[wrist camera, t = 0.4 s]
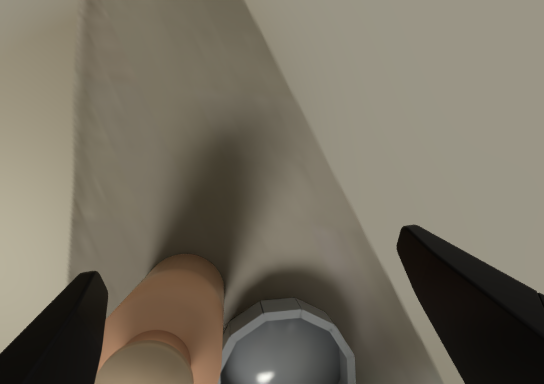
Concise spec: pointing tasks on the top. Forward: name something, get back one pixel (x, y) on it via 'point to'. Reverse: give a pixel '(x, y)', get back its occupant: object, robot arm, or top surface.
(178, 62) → the top surface
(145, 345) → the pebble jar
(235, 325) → the slate bowl
